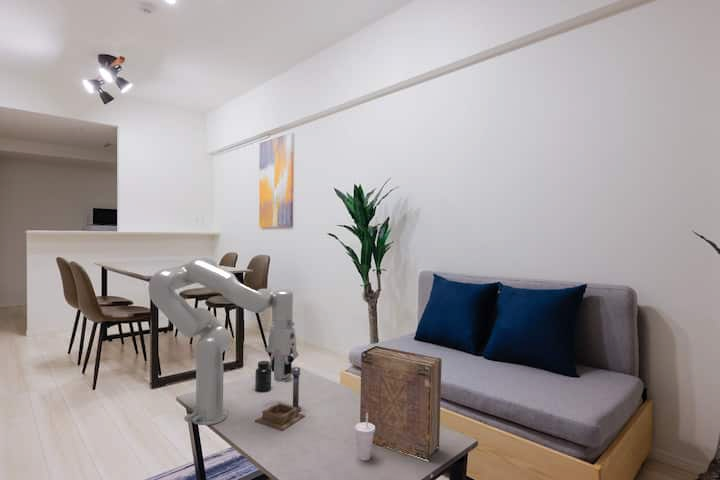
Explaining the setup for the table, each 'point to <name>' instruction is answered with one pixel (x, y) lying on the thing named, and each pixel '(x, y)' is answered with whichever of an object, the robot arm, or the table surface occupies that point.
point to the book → (402, 399)
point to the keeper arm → (294, 371)
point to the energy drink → (279, 367)
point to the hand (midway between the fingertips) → (281, 371)
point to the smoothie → (364, 439)
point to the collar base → (283, 412)
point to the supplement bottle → (263, 377)
